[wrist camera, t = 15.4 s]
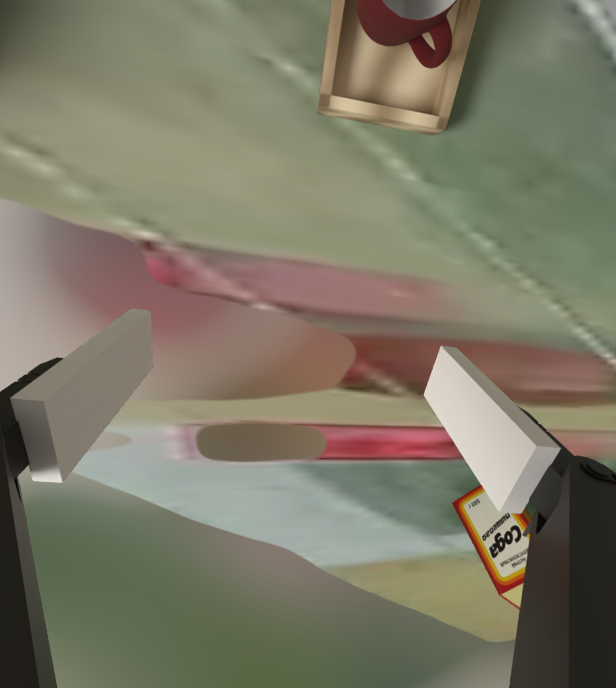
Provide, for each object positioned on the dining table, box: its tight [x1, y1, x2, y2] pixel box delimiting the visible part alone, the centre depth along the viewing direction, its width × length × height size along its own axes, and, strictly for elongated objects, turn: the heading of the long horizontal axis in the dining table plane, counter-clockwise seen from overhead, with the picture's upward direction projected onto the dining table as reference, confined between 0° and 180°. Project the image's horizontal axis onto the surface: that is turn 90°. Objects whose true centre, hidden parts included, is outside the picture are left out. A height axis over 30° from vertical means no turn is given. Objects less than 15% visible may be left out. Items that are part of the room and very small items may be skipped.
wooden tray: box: [317, 0, 481, 135], centre depth 31 cm, size 13×16×4 cm
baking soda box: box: [452, 485, 532, 610], centre depth 54 cm, size 10×6×16 cm
